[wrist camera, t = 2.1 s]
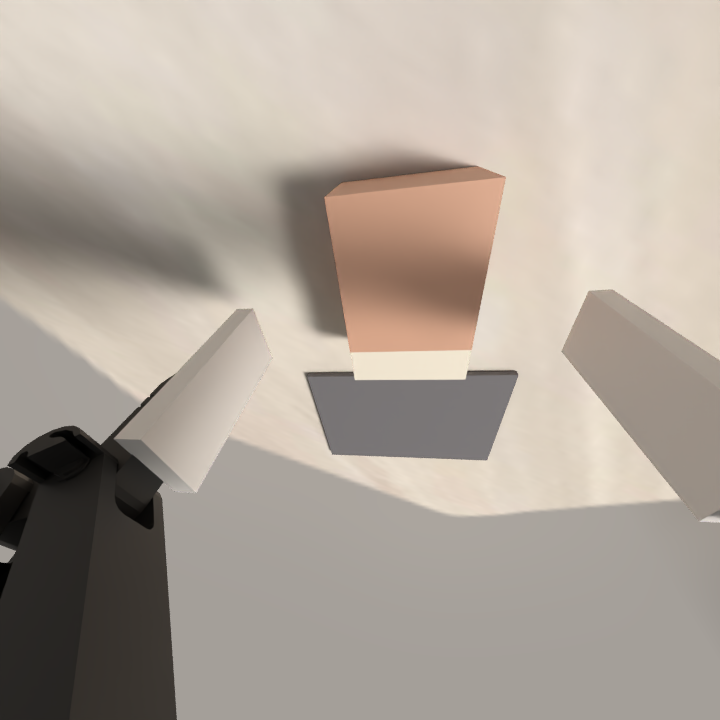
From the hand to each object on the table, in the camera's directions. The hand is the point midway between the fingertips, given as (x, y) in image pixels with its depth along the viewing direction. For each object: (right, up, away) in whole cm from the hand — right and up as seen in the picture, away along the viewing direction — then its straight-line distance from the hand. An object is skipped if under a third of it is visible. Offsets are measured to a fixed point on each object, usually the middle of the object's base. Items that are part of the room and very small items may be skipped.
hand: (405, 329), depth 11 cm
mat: (+2, -6, +12) cm, 14 cm away
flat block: (+1, +4, +4) cm, 5 cm away
